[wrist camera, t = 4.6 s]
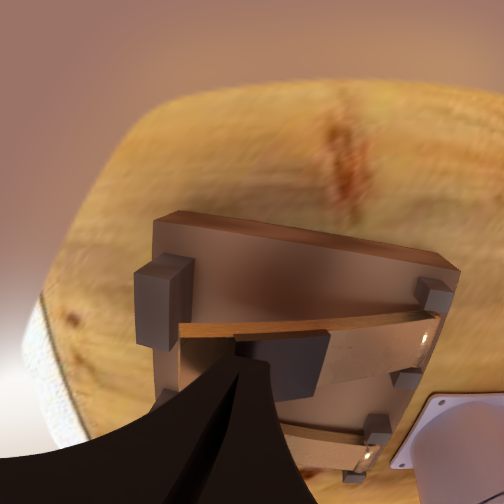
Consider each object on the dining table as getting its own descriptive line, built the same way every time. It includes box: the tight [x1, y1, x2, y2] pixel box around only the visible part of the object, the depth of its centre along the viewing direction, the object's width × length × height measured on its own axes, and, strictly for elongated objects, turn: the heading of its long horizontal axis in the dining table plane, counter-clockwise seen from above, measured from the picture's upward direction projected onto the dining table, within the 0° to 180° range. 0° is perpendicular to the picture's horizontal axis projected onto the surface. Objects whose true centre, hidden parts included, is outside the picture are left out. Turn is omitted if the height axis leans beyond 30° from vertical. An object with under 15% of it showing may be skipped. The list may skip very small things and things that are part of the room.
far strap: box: [280, 423, 382, 473], centre depth 15 cm, size 10×3×1 cm, turn 83°
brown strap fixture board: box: [134, 211, 461, 483], centre depth 15 cm, size 14×14×6 cm
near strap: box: [178, 308, 441, 402], centre depth 11 cm, size 10×3×1 cm, turn 83°
